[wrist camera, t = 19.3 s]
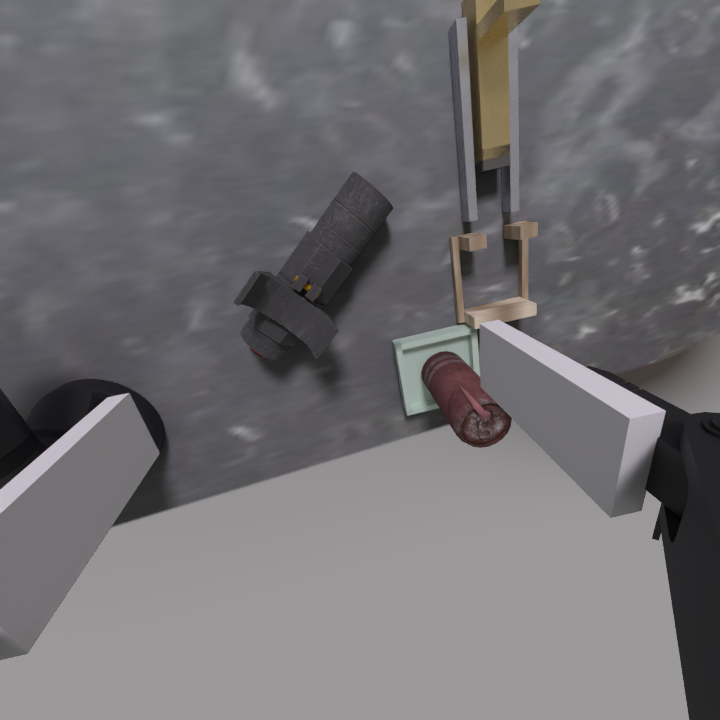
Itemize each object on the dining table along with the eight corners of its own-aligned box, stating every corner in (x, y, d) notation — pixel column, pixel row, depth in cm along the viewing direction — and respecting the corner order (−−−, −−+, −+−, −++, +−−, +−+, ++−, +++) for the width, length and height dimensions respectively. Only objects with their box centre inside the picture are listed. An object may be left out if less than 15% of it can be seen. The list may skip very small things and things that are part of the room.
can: (445, 339, 45) (495, 387, 33) (470, 370, 48) (525, 426, 35) (410, 367, 46) (445, 424, 34) (436, 396, 49) (477, 460, 36)
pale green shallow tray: (403, 407, 50) (407, 415, 48) (391, 340, 46) (395, 346, 44) (474, 390, 50) (481, 398, 48) (469, 322, 46) (476, 326, 44)
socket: (456, 321, 46) (468, 330, 42) (449, 237, 41) (461, 239, 38) (524, 305, 46) (542, 313, 42) (524, 220, 41) (544, 220, 38)
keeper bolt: (471, 174, 39) (507, 164, 31) (461, 2, 33) (502, -60, 25) (497, 168, 39) (538, 157, 31) (491, -4, 33) (540, -68, 25)
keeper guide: (462, 221, 41) (469, 221, 39) (448, 30, 33) (456, 19, 32) (510, 210, 41) (519, 210, 39) (506, 17, 33) (517, 6, 32)
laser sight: (400, 221, 40) (424, 222, 31) (292, 361, 46) (286, 397, 36) (334, 162, 37) (339, 143, 28) (228, 320, 42) (202, 348, 33)
